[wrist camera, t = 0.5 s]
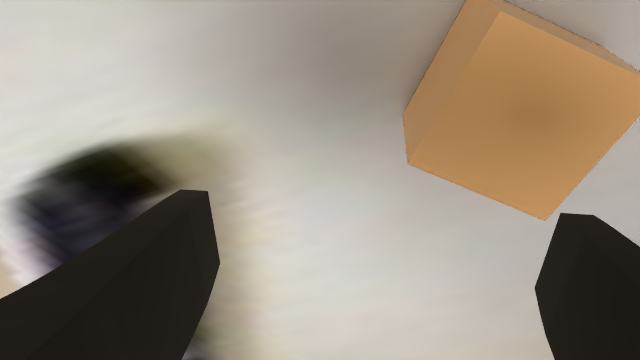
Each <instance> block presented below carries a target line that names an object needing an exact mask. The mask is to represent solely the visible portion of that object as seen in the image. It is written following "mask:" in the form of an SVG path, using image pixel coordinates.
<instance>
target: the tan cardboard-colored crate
mask: <svg viewBox="0 0 640 360" xmlns="http://www.w3.org/2000/svg"><path fill="white" fill-rule="evenodd" d="M639 116H640V71H638V70H637V69H635V68H634V67H632V66H631V65H629V64H628V63H626V62H625V61H623V60H622V59H620V58H619V57H617V56H616V55H614V54H613V53H611V52H610V51H608V50H606V49H605V48H603V47H601V46H599V45H597V44H595V43H593V42H591V41H589V40H586V39H584V38H582V37H580V36H578V35H576V34H574V33H572V32H569V31H567V30H565V29H563V28H561V27H559V26H557V25H555V24H553V23H550V22H548V21H546V20H544V19H542V18H540V17H538V16H536V15H534V14H531V13H529V12H527V11H525V10H523V9H521V8H519V7H517V6H514V5H512V4H510V3H508V2H506V1H504V0H466V1H465V3H464V5H463V7H462V8H461V10H460V12H459V14H458V16H457V17H456V19H455V21H454V23H453V25H452V26H451V28H450V30H449V32H448V34H447V35H446V37H445V39H444V41H443V43H442V44H441V46H440V48H439V50H438V52H437V53H436V55H435V57H434V59H433V61H432V62H431V64H430V66H429V68H428V69H427V71H426V73H425V75H424V77H423V78H422V80H421V82H420V84H419V86H418V87H417V89H416V91H415V93H414V95H413V96H412V98H411V100H410V102H409V104H408V105H407V107H406V109H405V111H404V113H403V124H404V133H405V143H406V153H407V163H408V164H409V165H412V166H414V167H416V168H419V169H421V170H424V171H426V172H428V173H431V174H433V175H436V176H438V177H440V178H443V179H445V180H448V181H450V182H452V183H455V184H457V185H460V186H462V187H465V188H467V189H469V190H472V191H474V192H477V193H479V194H481V195H484V196H486V197H489V198H491V199H493V200H496V201H498V202H501V203H503V204H505V205H508V206H510V207H513V208H515V209H517V210H520V211H522V212H525V213H527V214H529V215H532V216H534V217H537V218H539V219H541V220H544V221H545V220H546V219H547V218H548V217H549V216H550V215H551V214H552V213H553V211H554V210H555V209H556V208H557V207H558V206H559V205H560V204H561V203H562V201H563V200H564V199H565V198H566V197H567V196H568V195H569V194H570V193H571V191H572V190H573V189H574V188H575V187H576V186H577V185H578V184H579V183H580V181H581V180H582V179H583V178H584V177H585V176H586V175H587V174H588V173H589V171H590V170H591V169H592V168H593V167H594V166H595V165H596V164H597V162H598V161H599V160H600V159H601V158H602V157H603V156H604V155H605V154H606V152H607V151H608V150H609V149H610V148H611V147H612V146H613V145H614V144H615V142H616V141H617V140H618V139H619V138H620V137H621V136H622V135H623V134H624V132H625V131H626V130H627V129H628V128H629V127H630V126H631V125H632V124H633V122H634V121H635V120H636V119H637V118H638V117H639Z"/></svg>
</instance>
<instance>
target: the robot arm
mask: <svg viewBox="0 0 640 360" xmlns="http://www.w3.org/2000/svg"><path fill="white" fill-rule="evenodd" d="M219 265H220V259H219V254H218V248H217V242H216V236H215V230H214V225H213V219H212V213H211V207H210V201H209V196H208V191H196V190H179V191H177V192H175V193H174V194H172V195H170V196H169V197H167V198H166V199H164V200H162V201H161V202H159V203H158V204H156V205H155V206H153V207H152V208H150V209H149V210H147V211H146V212H144V213H143V214H141V215H140V216H138V217H137V218H135V219H134V220H132V221H131V222H129V223H128V224H126V225H125V226H123V227H122V228H120V229H119V230H117V231H116V232H114V233H112V234H111V235H109V236H108V237H106V238H105V239H103V240H102V241H100V242H99V243H97V244H96V245H94V246H92V247H91V248H89V249H87V250H86V251H84V252H82V253H81V254H79V255H77V256H76V257H74V258H72V259H71V260H69V261H67V262H66V263H64V264H62V265H61V266H59V267H58V268H56V269H54V270H53V271H51V272H49V273H48V274H46V275H44V276H42V277H40V278H39V279H37V280H35V281H33V282H32V283H30V284H28V285H26V286H24V287H22V288H20V289H19V290H17V291H15V292H13V293H11V294H9V295H7V296H5V297H3V298H1V299H0V360H182V358H183V355H184V353H185V351H186V349H187V347H188V345H189V343H190V341H191V338H192V336H193V334H194V332H195V330H196V328H197V325H198V323H199V321H200V319H201V317H202V315H203V312H204V310H205V308H206V306H207V303H208V300H209V297H210V294H211V291H212V288H213V285H214V282H215V278H216V275H217V272H218V268H219ZM535 292H536V297H537V301H538V306H539V310H540V315H541V319H542V322H543V326H544V330H545V334H546V337H547V340H548V343H549V345H550V348H551V351H552V353H553V356H554V358H555V360H640V247H639V246H638V245H636V244H635V243H634V242H632V241H631V240H629V239H628V238H627V237H625V236H624V235H622V234H621V233H620V232H618V231H617V230H615V229H614V228H613V227H611V226H610V225H608V224H607V223H605V222H604V221H602V220H600V219H599V218H597V217H596V216H594V215H583V214H567V213H560V216H559V219H558V222H557V225H556V228H555V231H554V233H553V236H552V239H551V242H550V245H549V248H548V251H547V254H546V257H545V260H544V262H543V265H542V268H541V271H540V274H539V277H538V280H537V283H536V286H535Z"/></svg>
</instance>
